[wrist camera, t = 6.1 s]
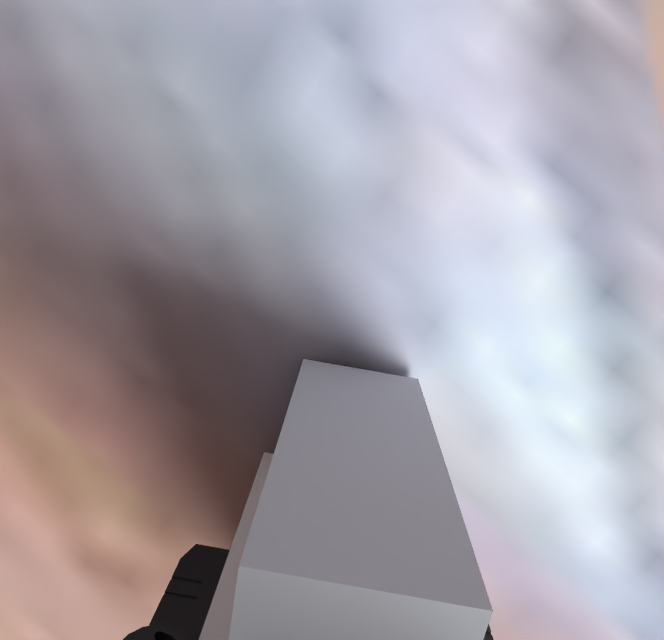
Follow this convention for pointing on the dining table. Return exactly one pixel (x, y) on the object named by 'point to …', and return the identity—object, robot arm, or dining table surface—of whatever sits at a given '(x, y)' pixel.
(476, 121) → the dining table surface
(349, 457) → the white rectangular block
